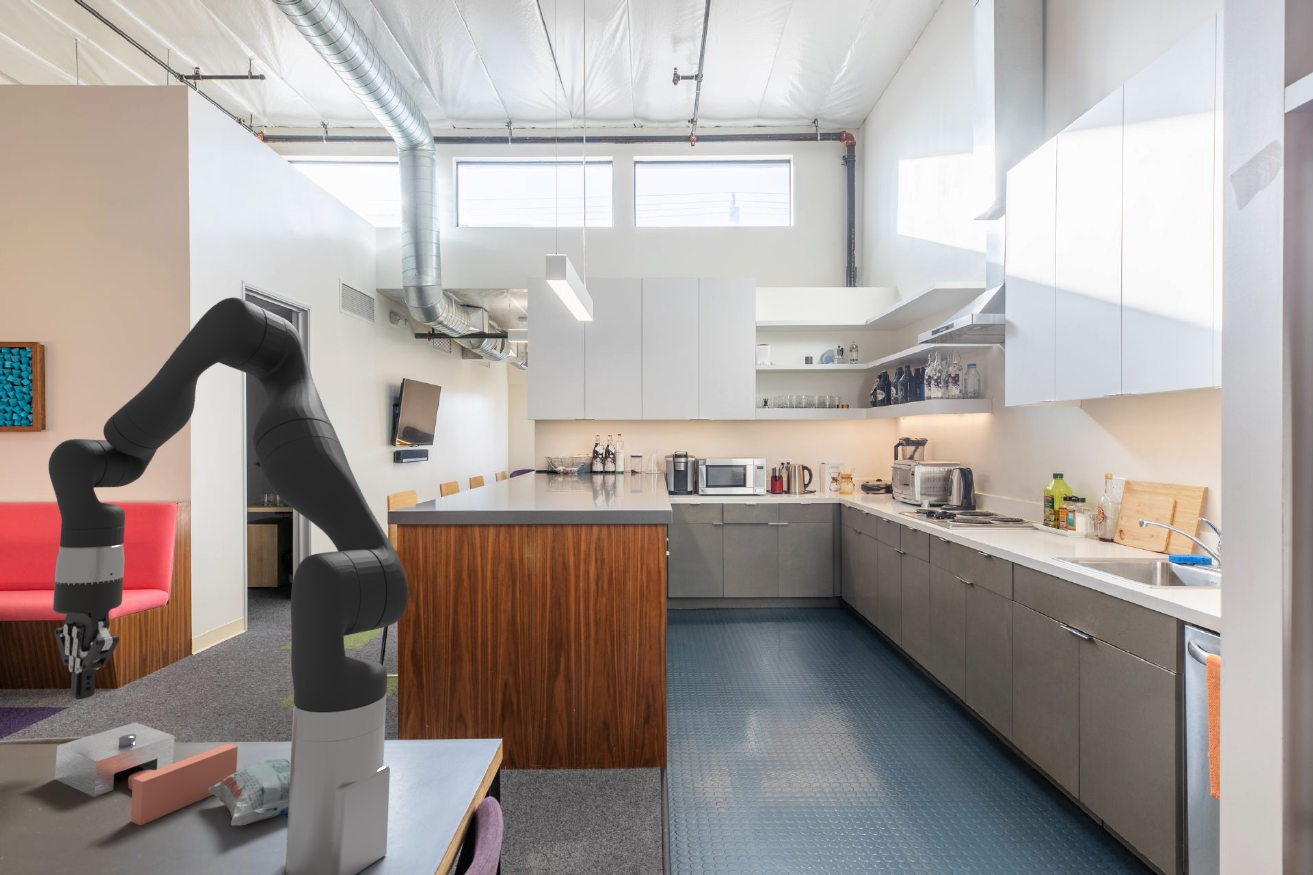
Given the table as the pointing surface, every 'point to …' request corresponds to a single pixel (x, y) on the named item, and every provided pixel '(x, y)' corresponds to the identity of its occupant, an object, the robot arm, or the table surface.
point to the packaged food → (256, 791)
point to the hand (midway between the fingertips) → (82, 696)
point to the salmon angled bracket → (179, 783)
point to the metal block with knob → (112, 756)
